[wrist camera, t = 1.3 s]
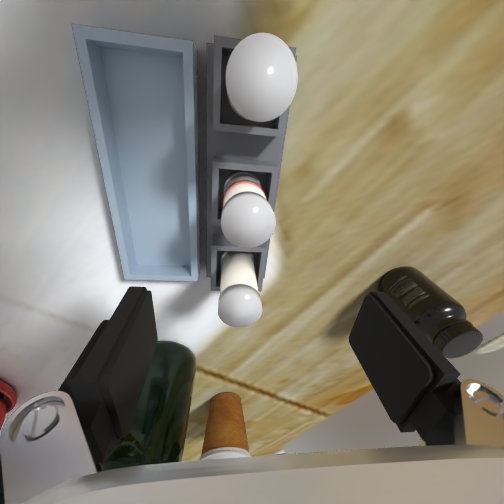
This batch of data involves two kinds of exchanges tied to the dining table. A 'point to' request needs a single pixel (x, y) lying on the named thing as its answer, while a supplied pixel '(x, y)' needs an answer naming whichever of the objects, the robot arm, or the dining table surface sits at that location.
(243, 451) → the disposable coffee cup
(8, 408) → the plant pot
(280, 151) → the fuse holder
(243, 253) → the fuse
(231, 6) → the dining table surface
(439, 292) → the supplement bottle
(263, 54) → the ball
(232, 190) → the cylinder
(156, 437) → the green wine bottle
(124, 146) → the parts tray
